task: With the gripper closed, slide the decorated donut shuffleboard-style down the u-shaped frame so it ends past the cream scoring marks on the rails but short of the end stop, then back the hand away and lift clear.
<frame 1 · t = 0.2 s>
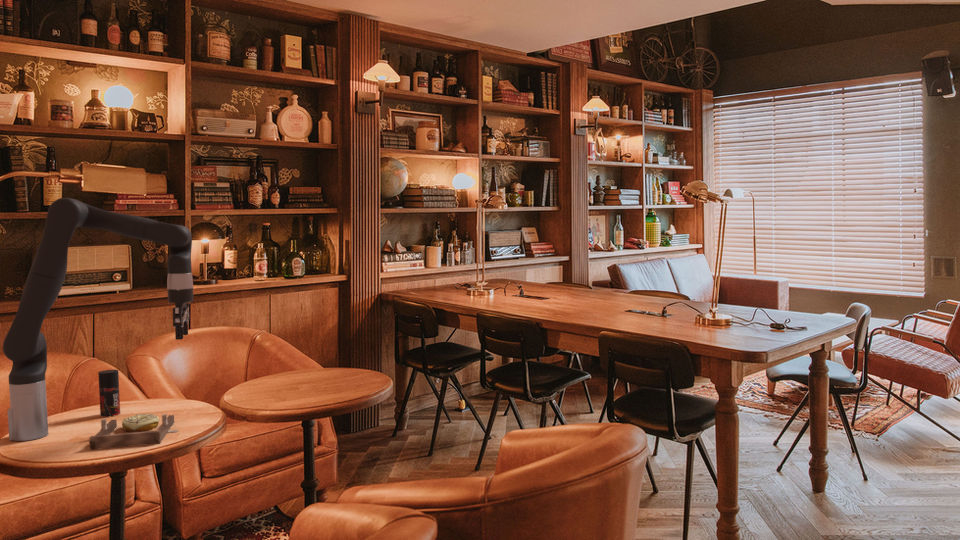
hand: (182, 337, 212), 28 cm above the table, tool pointing down, fingers open, 8 cm apart
u-shaped frame: (134, 435, 202), on the table
decorated donut: (141, 429, 210), on the table
deodorant: (110, 415, 226), on the table
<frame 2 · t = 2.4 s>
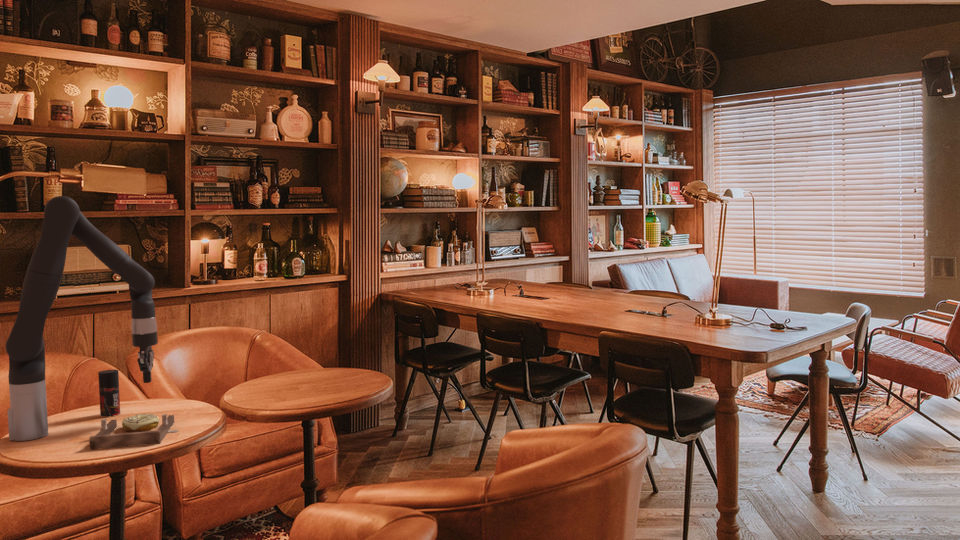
hand: (147, 382, 219), 12 cm above the table, tool pointing down, fingers closed
nothing on the table moved.
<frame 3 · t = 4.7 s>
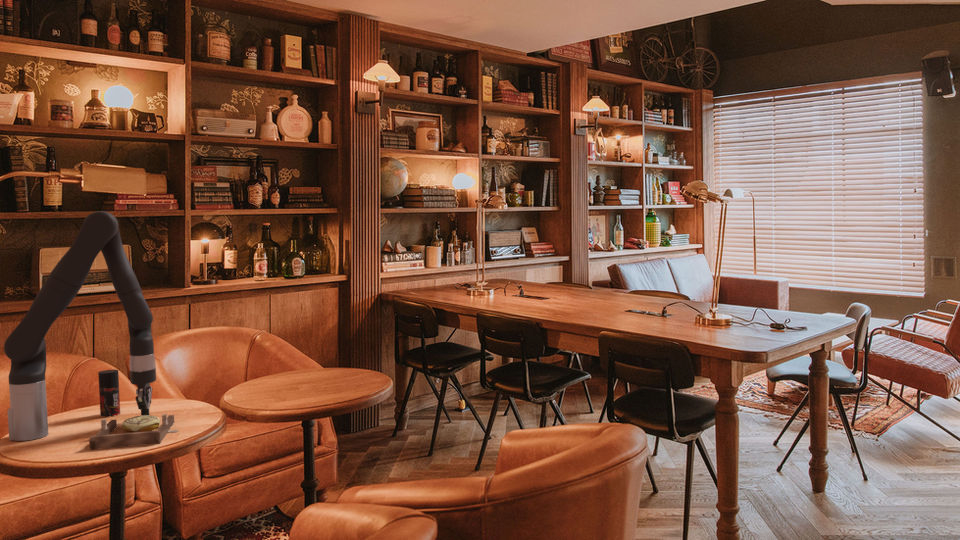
hand: (145, 419, 215), 1 cm above the table, tool pointing down, fingers closed
decorated donut: (141, 430, 209), on the table, touching gripper
everything else where it was.
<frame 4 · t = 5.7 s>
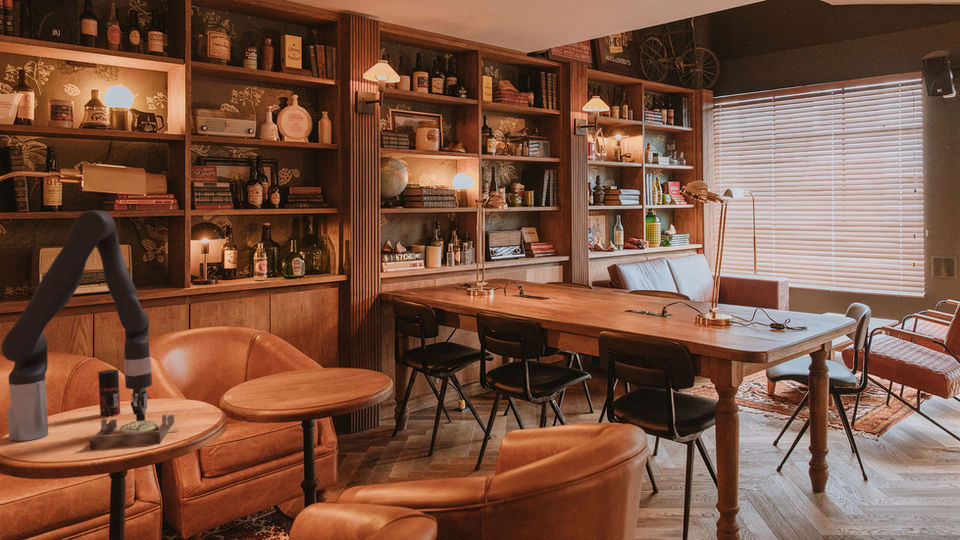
hand: (141, 425, 209), 1 cm above the table, tool pointing down, fingers closed
decorated donut: (139, 436, 203), on the table
everything else where it was.
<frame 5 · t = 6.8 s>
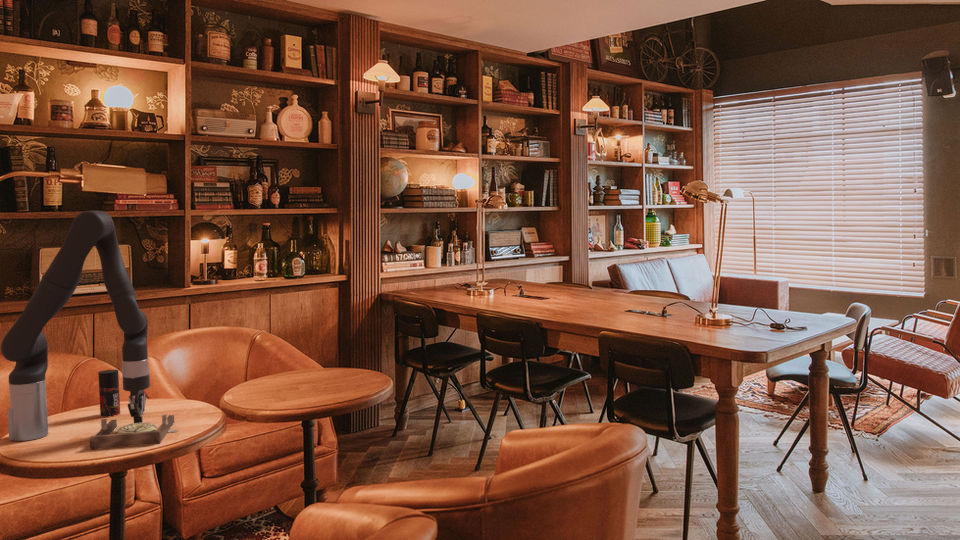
hand: (138, 428, 207), 1 cm above the table, tool pointing down, fingers closed
decorated donut: (137, 438, 200), on the table
everything else where it was.
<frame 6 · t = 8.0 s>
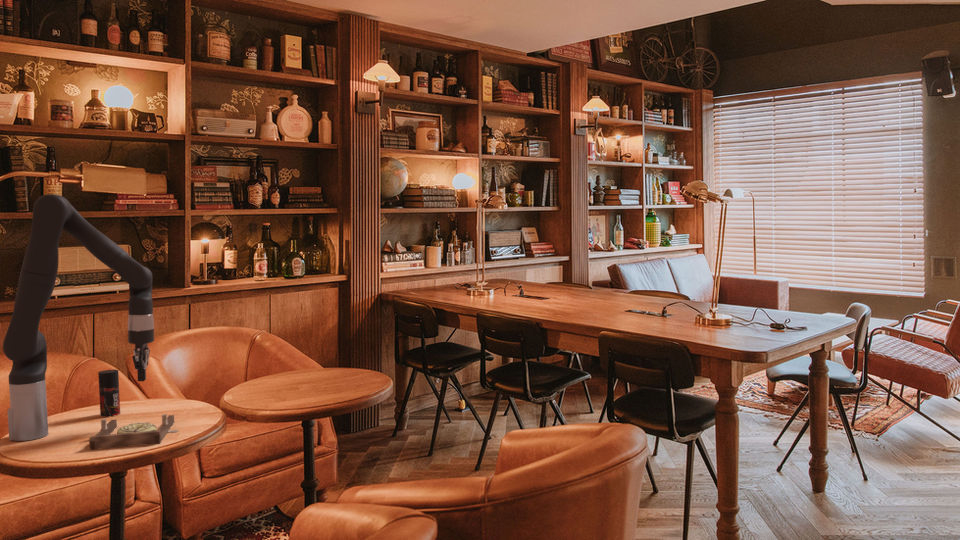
hand: (141, 380, 213), 14 cm above the table, tool pointing down, fingers closed
nothing on the table moved.
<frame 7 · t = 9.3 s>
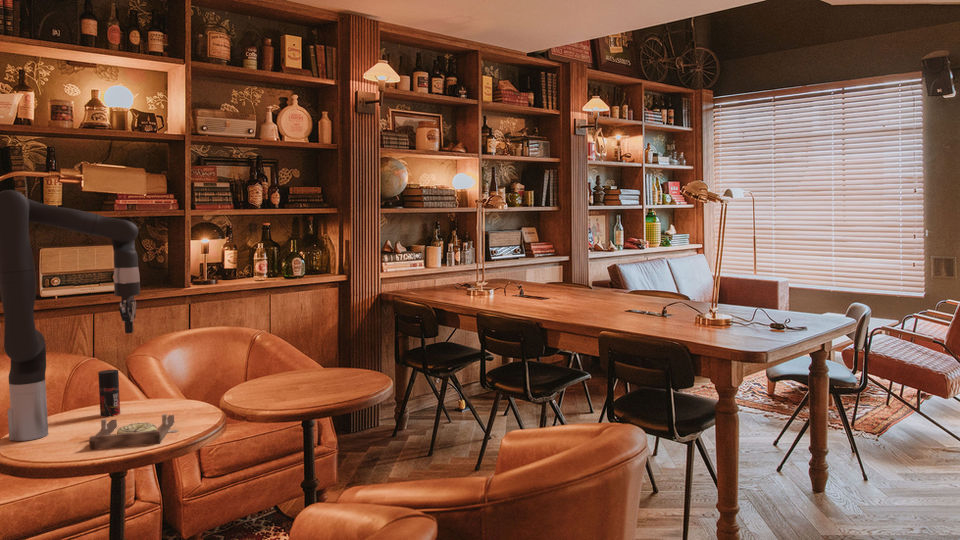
hand: (129, 332, 218), 29 cm above the table, tool pointing down, fingers closed
nothing on the table moved.
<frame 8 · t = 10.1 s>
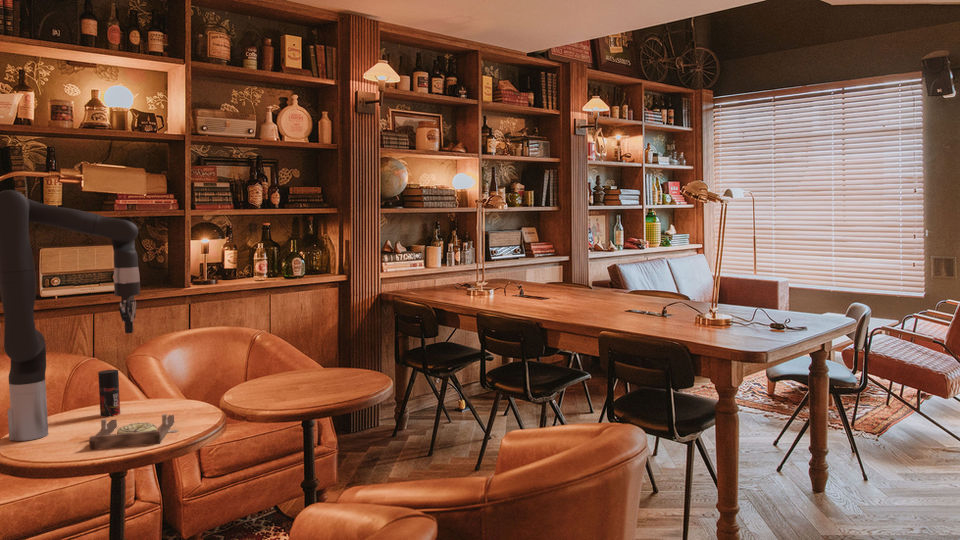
hand: (129, 332, 218), 29 cm above the table, tool pointing down, fingers closed
nothing on the table moved.
at the end: decorated donut inside the target area (2.7 cm from its centre), on the table; decorated donut tilted 0° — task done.
